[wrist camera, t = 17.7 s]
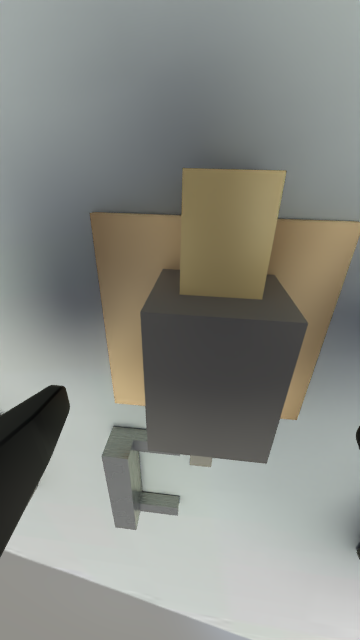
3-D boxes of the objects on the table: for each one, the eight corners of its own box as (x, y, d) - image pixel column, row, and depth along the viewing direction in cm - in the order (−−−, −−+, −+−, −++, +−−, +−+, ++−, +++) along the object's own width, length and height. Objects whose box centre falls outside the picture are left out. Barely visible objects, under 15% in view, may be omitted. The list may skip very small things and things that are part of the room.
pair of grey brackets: (181, 433, 16) (177, 464, 14) (178, 503, 20) (175, 535, 18) (-54, 409, 17) (-84, 435, 15) (-13, 480, 21) (-34, 507, 19)
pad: (358, 221, 9) (364, 223, 9) (294, 414, 14) (296, 419, 14) (93, 212, 10) (89, 213, 10) (117, 397, 15) (115, 403, 15)
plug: (295, 173, 9) (354, 169, 5) (238, 450, 16) (246, 529, 12) (162, 170, 9) (131, 164, 5) (164, 443, 16) (151, 517, 12)
